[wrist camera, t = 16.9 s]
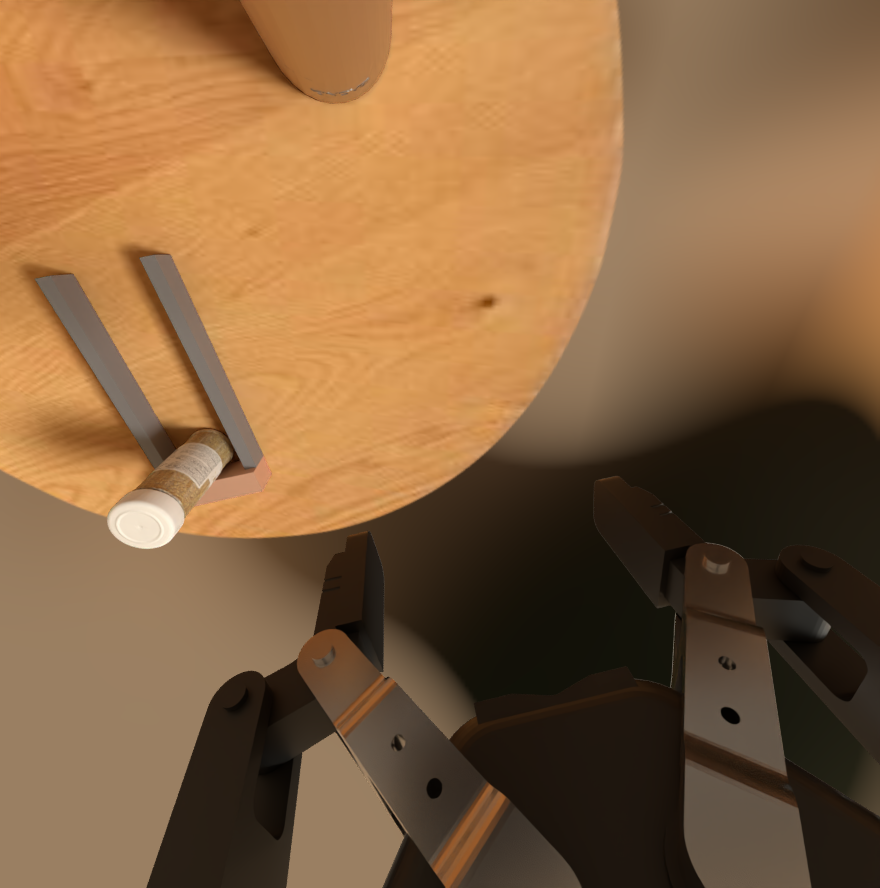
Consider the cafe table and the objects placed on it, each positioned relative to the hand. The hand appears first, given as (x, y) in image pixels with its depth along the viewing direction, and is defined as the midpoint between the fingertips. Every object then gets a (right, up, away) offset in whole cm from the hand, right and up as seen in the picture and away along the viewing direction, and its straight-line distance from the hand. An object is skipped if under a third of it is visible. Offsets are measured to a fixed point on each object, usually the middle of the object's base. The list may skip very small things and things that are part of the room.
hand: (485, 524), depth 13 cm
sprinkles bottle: (-26, +3, +27) cm, 37 cm away
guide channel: (-27, +8, +24) cm, 37 cm away
